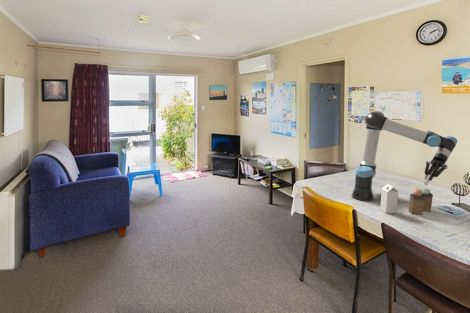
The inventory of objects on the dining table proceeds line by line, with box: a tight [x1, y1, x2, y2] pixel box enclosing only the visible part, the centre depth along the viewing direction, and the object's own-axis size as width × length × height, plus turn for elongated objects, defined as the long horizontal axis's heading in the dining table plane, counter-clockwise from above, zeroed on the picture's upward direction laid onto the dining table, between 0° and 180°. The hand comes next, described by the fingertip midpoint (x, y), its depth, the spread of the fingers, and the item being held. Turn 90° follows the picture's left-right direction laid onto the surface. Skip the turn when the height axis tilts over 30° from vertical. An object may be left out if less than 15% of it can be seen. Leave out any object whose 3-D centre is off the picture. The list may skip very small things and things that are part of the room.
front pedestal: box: [407, 193, 425, 216], centre depth 189 cm, size 6×6×12 cm
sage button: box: [421, 188, 431, 194], centre depth 193 cm, size 5×5×4 cm
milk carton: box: [379, 182, 399, 214], centre depth 192 cm, size 7×7×19 cm
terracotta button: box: [412, 188, 422, 197], centre depth 188 cm, size 5×5×4 cm
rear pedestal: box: [422, 192, 434, 213], centre depth 194 cm, size 6×6×12 cm
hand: (425, 183), depth 191 cm, fingers closed
